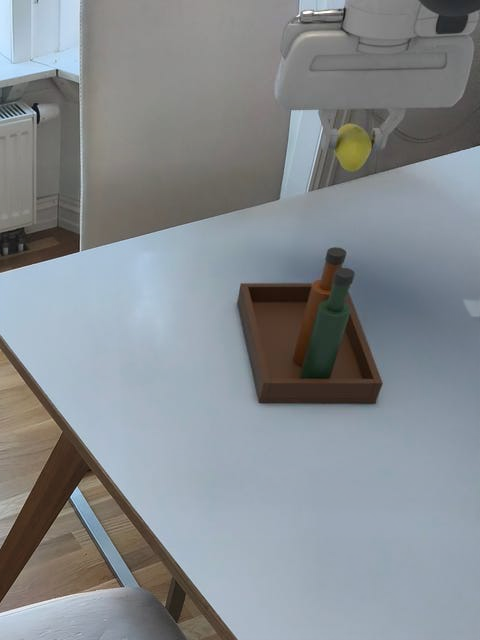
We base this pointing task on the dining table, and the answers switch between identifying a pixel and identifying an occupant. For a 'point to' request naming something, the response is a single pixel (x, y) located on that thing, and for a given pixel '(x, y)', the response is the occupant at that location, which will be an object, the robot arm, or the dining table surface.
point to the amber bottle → (317, 300)
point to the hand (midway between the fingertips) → (352, 147)
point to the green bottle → (328, 329)
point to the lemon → (352, 147)
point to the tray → (280, 342)
